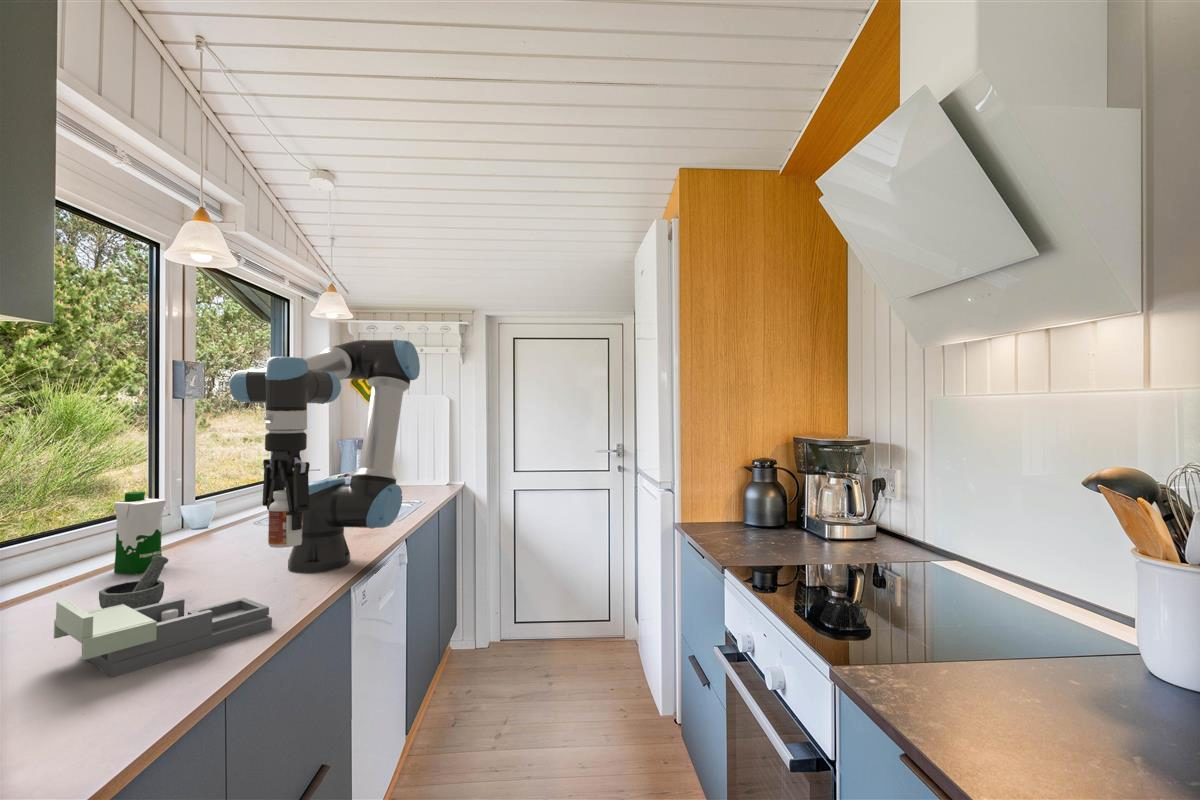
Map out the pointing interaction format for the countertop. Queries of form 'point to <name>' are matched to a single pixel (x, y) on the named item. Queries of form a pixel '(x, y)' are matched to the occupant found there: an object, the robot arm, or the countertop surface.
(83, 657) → the cover
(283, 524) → the pill bottle
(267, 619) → the housing base
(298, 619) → the countertop surface
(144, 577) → the mortar and pestle
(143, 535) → the milk carton
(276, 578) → the countertop surface
